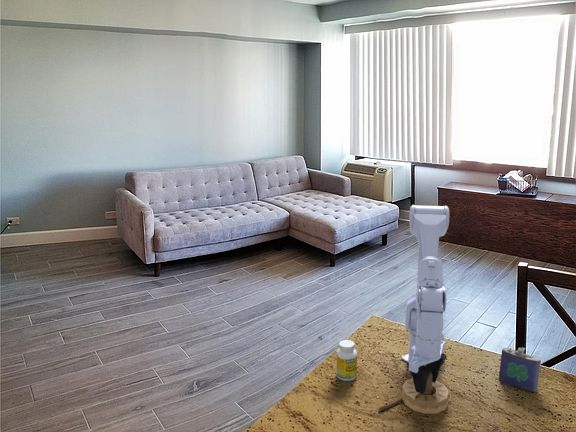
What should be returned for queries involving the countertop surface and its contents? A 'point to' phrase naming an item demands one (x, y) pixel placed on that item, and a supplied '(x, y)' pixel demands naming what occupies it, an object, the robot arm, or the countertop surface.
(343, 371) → the supplement bottle
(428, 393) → the brown rounded cylinder
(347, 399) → the countertop surface
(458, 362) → the countertop surface
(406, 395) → the wooden ring with handle
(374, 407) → the countertop surface
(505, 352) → the flask
